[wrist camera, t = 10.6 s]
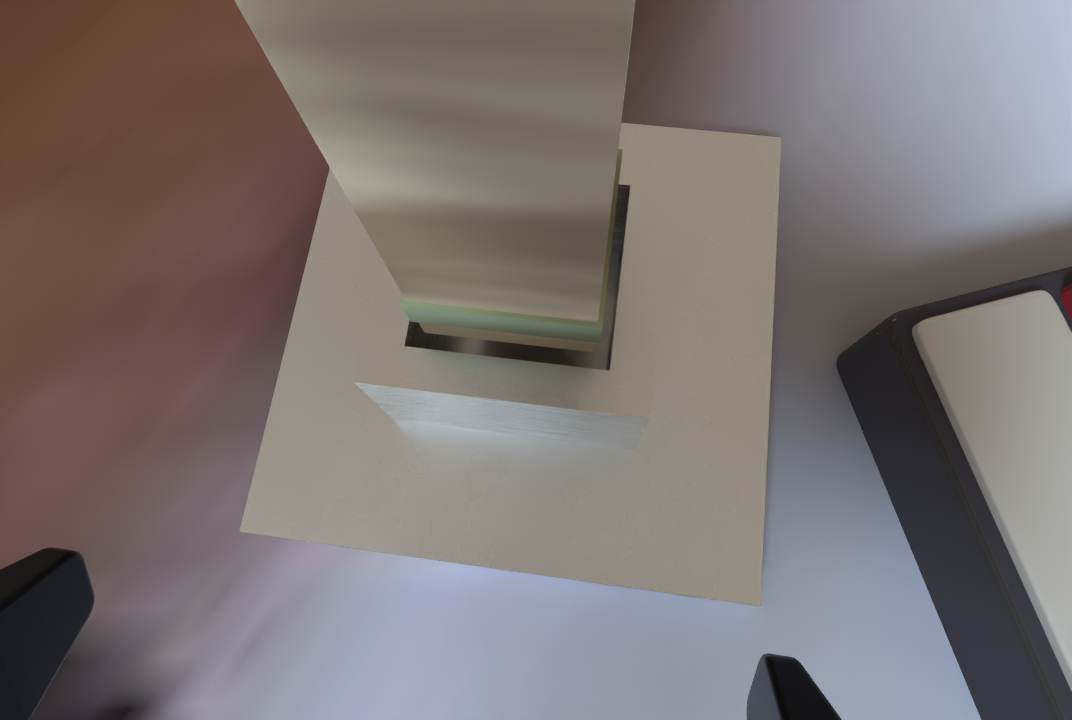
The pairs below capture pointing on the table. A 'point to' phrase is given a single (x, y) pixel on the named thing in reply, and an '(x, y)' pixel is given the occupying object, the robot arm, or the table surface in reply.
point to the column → (470, 148)
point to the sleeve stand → (549, 397)
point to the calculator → (983, 477)
